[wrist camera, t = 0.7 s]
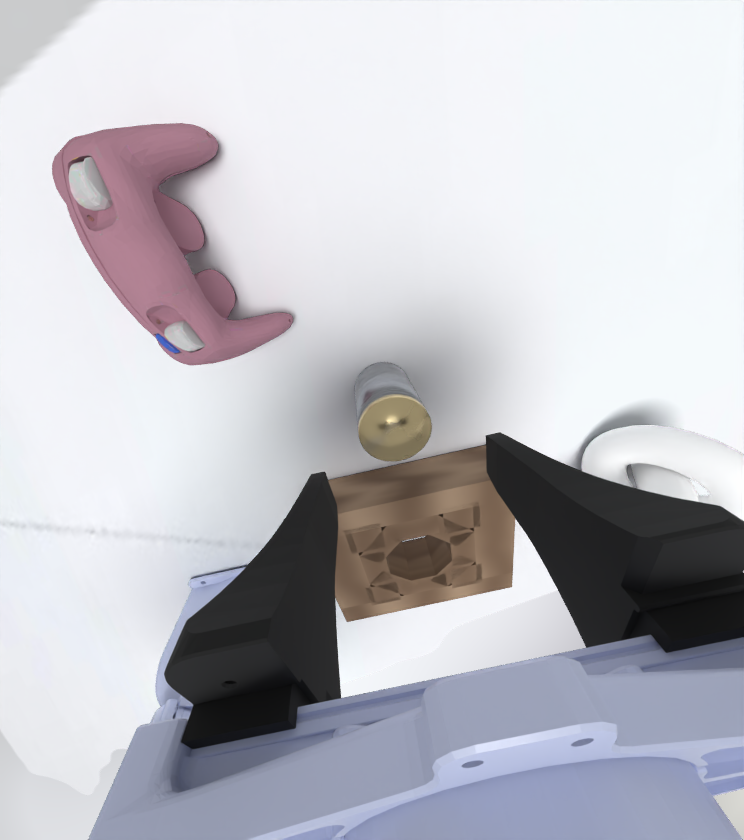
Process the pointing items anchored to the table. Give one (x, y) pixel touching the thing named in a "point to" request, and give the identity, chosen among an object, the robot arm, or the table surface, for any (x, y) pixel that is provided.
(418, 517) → the jig
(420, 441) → the brass capped cylinder
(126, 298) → the video game controller
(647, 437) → the white knot sculpture
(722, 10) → the table surface
